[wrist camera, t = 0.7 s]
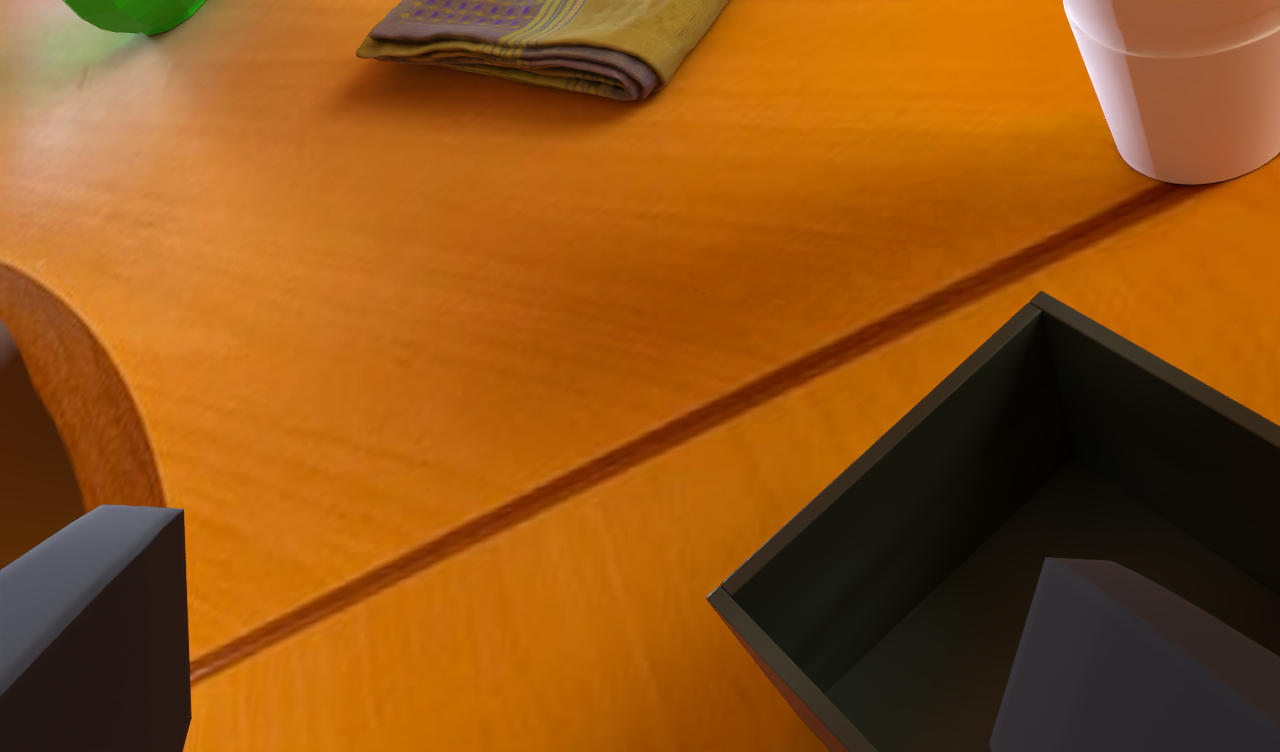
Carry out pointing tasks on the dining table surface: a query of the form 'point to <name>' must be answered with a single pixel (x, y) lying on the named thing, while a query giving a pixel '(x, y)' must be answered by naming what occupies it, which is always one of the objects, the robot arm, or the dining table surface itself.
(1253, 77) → the white paper towel roll
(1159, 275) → the dining table surface
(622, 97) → the dish towel
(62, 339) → the dining table surface
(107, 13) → the plastic bottle
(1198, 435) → the carton
